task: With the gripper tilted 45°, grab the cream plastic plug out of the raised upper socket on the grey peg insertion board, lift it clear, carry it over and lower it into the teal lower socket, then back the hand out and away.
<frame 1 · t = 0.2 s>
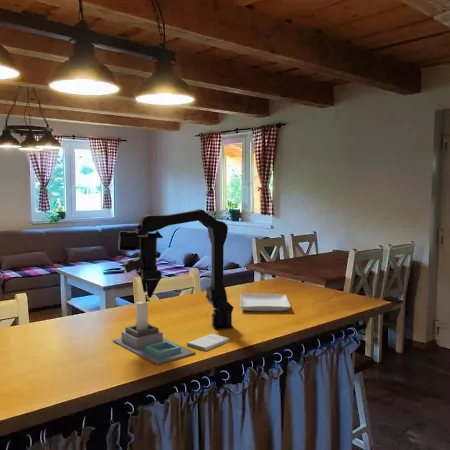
hand: (147, 294, 165), 14 cm above the counter, tool pointing down, fingers open, 9 cm apart
plug: (142, 332, 158), point 4 cm above the counter, touching grey peg insertion board
grey peg insertion board: (152, 347, 153), on the counter
external hard drive: (208, 345, 157), on the counter
salad plate: (264, 307, 204), on the counter
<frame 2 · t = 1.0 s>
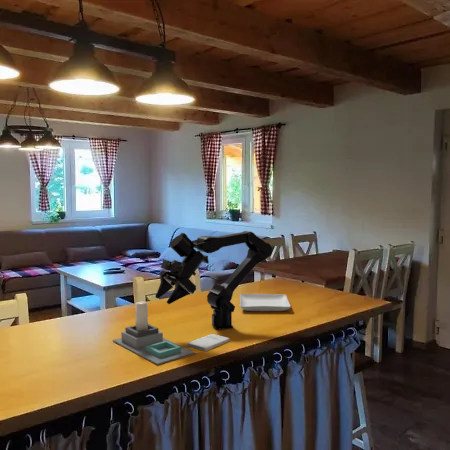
hand: (161, 300, 161), 13 cm above the counter, tool tilted 45°, fingers open, 9 cm apart
nothing on the counter moved.
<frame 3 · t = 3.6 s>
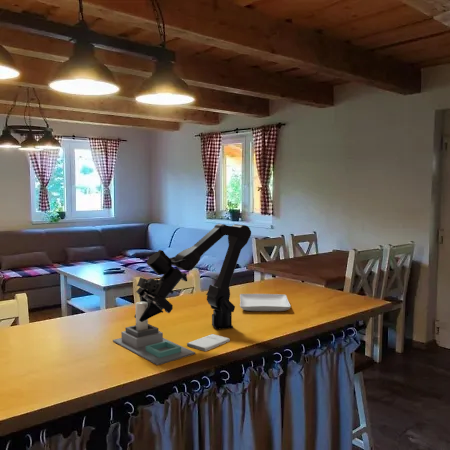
hand: (137, 319, 156), 8 cm above the counter, tool tilted 45°, fingers closed on plug, 4 cm apart
plug: (142, 332, 158), point 4 cm above the counter, touching grey peg insertion board, gripper
everything else where it was.
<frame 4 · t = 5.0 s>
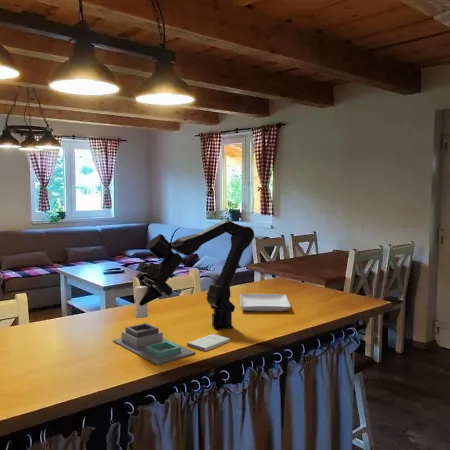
hand: (137, 303, 156), 13 cm above the counter, tool tilted 45°, fingers closed on plug, 4 cm apart
plug: (141, 316, 157), point 9 cm above the counter, touching gripper
everything else where it was.
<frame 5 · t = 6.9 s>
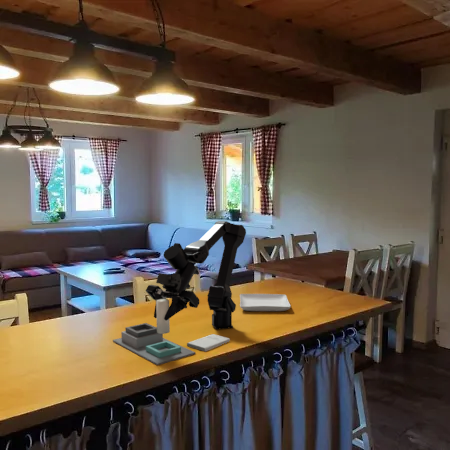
hand: (159, 318, 146), 11 cm above the counter, tool tilted 45°, fingers closed on plug, 4 cm apart
plug: (163, 331, 148), point 7 cm above the counter, touching gripper
everything else where it was.
when the fingers open (7 cm above the counter, at t = 8.2 s): plug drops 1 cm, resting on grey peg insertion board.
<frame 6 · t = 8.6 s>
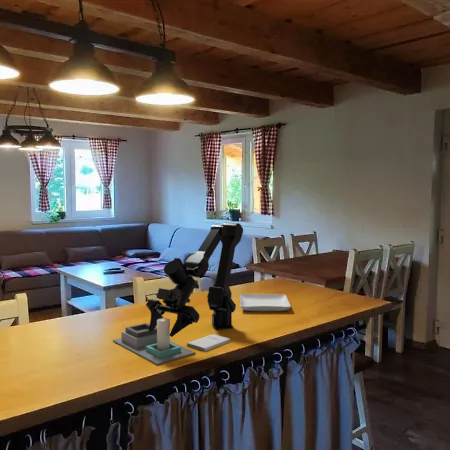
hand: (160, 333, 146), 7 cm above the counter, tool tilted 45°, fingers open, 8 cm apart
plug: (163, 351, 148), point 1 cm above the counter, touching grey peg insertion board
everything else where it was.
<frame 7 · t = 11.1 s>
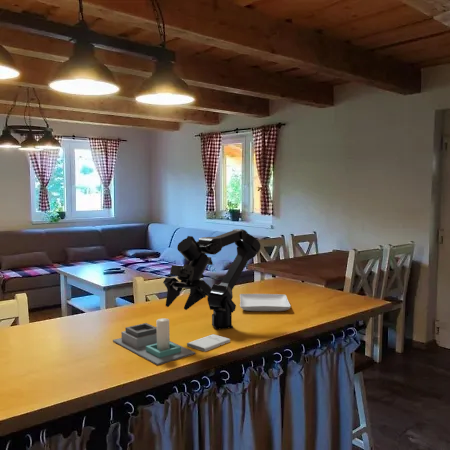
hand: (175, 307, 155), 12 cm above the counter, tool tilted 40°, fingers open, 9 cm apart
nothing on the counter moved.
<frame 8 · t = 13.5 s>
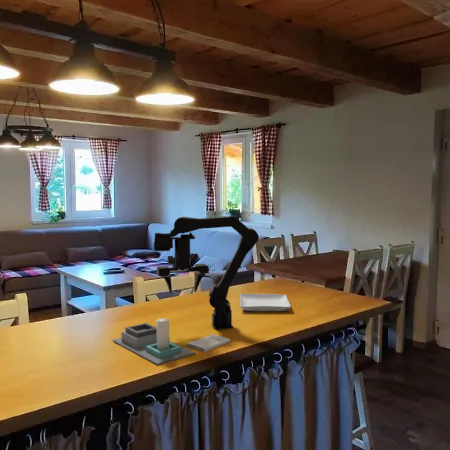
hand: (183, 292, 173), 13 cm above the counter, tool pointing down, fingers open, 9 cm apart
nothing on the counter moved.
at the end: plug 0.0 cm from the target spot, point 0.5 cm above the counter; plug tilted 1°; the gripper is holding nothing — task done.
